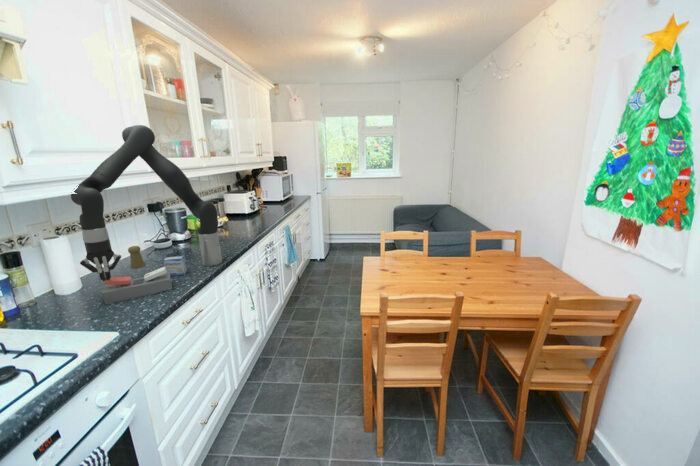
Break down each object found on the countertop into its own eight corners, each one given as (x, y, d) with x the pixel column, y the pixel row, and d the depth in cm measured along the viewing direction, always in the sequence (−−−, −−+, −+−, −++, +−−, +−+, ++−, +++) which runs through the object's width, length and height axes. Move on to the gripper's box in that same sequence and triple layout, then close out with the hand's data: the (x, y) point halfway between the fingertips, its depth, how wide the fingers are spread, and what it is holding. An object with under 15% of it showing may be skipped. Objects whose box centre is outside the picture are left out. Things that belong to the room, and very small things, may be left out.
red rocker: (130, 280, 124) (130, 276, 124) (129, 284, 120) (129, 280, 120) (106, 281, 120) (106, 277, 119) (104, 285, 116) (104, 281, 116)
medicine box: (166, 276, 141) (163, 260, 138) (169, 273, 145) (166, 256, 142) (184, 274, 143) (181, 258, 140) (186, 271, 147) (184, 255, 144)
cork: (137, 268, 150) (133, 248, 147) (128, 268, 152) (123, 248, 148) (147, 264, 156) (143, 245, 153) (138, 263, 157) (133, 244, 154)
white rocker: (166, 269, 130) (164, 266, 130) (166, 272, 127) (164, 269, 126) (146, 277, 127) (144, 274, 126) (146, 281, 123) (144, 278, 123)
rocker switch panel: (171, 282, 135) (169, 270, 133) (172, 289, 127) (169, 277, 126) (108, 295, 123) (105, 282, 121) (105, 304, 116) (101, 290, 114)
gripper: (119, 234, 120) (127, 273, 124) (76, 239, 113) (86, 280, 117) (117, 238, 113) (125, 279, 118) (71, 244, 107) (82, 287, 111)
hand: (106, 280), depth 118 cm, fingers closed
